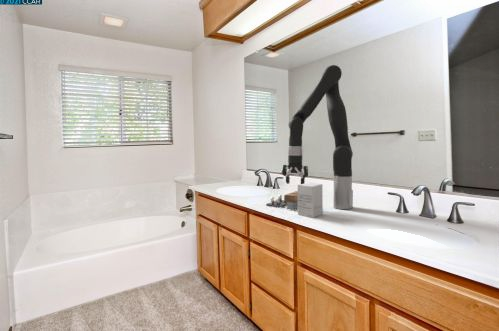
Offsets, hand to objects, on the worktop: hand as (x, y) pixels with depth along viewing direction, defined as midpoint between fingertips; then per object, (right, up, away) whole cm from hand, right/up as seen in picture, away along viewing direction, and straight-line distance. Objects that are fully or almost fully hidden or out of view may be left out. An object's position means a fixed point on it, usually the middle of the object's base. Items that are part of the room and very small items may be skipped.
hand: (294, 184), depth 150 cm
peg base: (-8, -12, +8) cm, 17 cm away
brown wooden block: (0, -9, 0) cm, 9 cm away
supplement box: (+5, -14, -15) cm, 21 cm away
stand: (0, -13, +1) cm, 13 cm away
